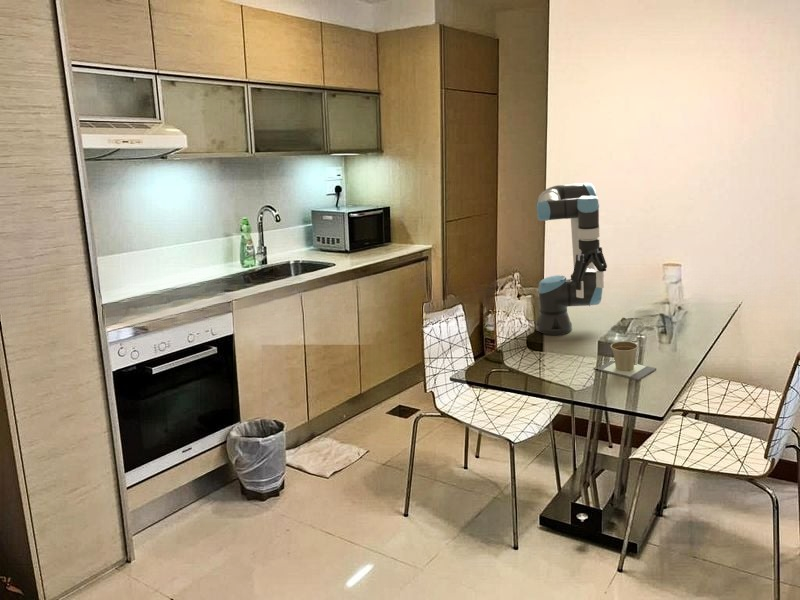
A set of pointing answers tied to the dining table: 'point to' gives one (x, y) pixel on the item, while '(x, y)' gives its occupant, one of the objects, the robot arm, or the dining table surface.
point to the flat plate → (634, 374)
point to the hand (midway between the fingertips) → (590, 292)
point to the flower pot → (624, 354)
